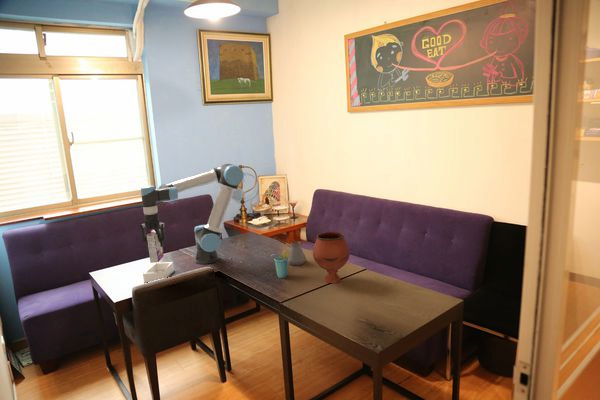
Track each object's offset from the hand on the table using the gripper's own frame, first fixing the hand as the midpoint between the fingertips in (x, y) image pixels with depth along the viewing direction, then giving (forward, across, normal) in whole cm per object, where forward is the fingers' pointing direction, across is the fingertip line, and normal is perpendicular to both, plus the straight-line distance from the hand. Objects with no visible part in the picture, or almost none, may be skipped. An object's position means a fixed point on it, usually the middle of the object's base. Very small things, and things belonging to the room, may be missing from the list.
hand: (156, 252), depth 235 cm
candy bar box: (+4, 0, 0) cm, 4 cm away
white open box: (+15, 0, 0) cm, 15 cm away
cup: (+15, -72, +10) cm, 74 cm away
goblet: (+15, -100, +18) cm, 103 cm away
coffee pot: (+15, -76, -13) cm, 79 cm away
